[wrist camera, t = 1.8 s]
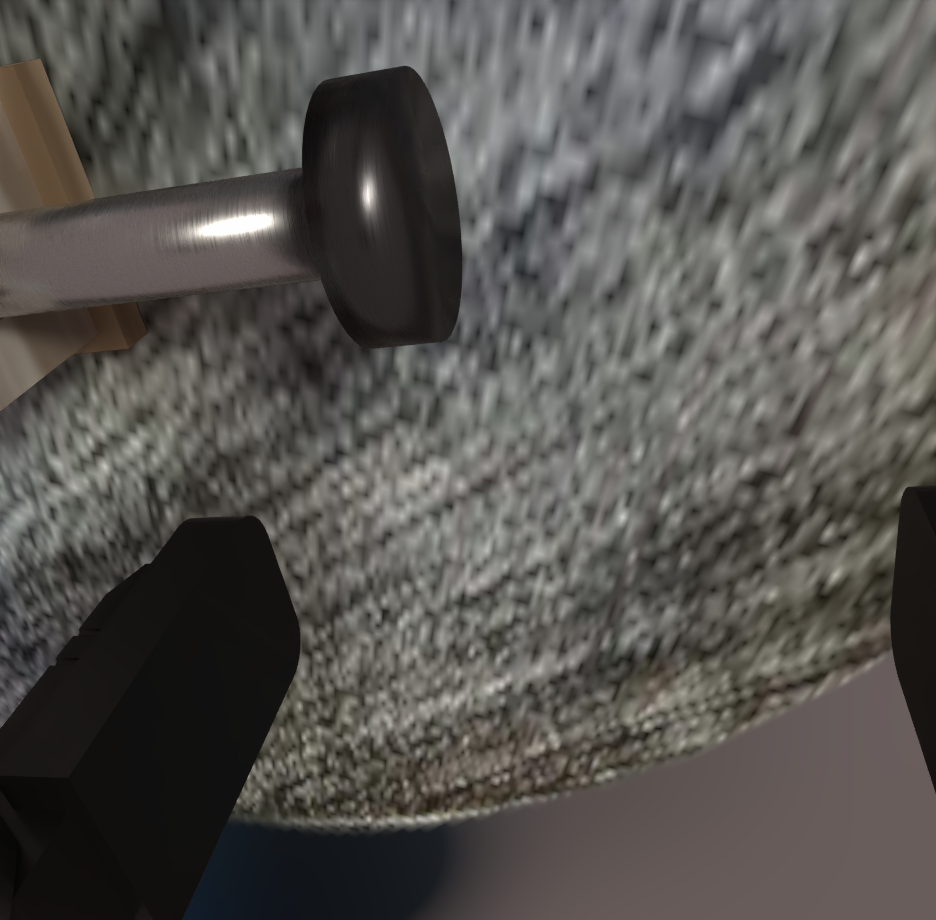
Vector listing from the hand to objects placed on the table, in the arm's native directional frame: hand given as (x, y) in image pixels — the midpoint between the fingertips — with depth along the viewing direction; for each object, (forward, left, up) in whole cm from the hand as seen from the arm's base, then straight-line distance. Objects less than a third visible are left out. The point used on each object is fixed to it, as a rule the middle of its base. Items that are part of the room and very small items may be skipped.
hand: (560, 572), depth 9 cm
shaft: (+14, 0, -19) cm, 23 cm away
